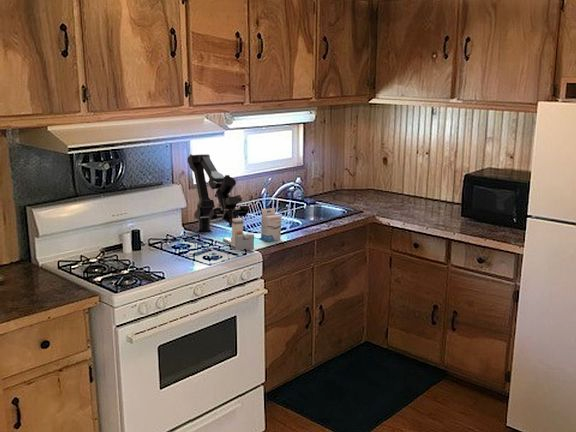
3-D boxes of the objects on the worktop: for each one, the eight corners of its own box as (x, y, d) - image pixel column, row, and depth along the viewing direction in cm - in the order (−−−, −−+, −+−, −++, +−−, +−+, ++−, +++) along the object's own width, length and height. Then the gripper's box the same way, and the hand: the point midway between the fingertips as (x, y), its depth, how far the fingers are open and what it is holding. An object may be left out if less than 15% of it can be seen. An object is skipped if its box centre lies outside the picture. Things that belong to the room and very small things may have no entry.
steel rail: (223, 240, 292) (223, 238, 292) (228, 240, 294) (228, 237, 293) (239, 248, 279) (239, 245, 279) (245, 247, 281) (245, 245, 280)
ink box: (267, 242, 293) (268, 211, 290) (260, 239, 296) (261, 209, 293) (280, 239, 298) (281, 209, 295) (274, 237, 302) (275, 207, 299)
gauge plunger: (236, 236, 281) (236, 231, 281) (241, 236, 282) (241, 230, 282) (245, 240, 275) (245, 235, 274) (250, 239, 276) (250, 234, 276)
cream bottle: (230, 245, 284) (231, 218, 281) (240, 243, 286) (240, 217, 284) (236, 247, 280) (236, 220, 277) (245, 246, 282) (246, 219, 280)
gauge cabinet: (234, 248, 278) (234, 234, 277) (249, 246, 282) (250, 233, 281) (238, 250, 275) (238, 236, 274) (253, 248, 279) (254, 234, 278)
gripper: (212, 190, 280) (223, 219, 273) (248, 187, 290) (260, 215, 283) (204, 204, 288) (215, 232, 281) (239, 201, 298) (251, 229, 291)
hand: (235, 227), depth 284 cm, fingers closed, pressing on cream bottle
